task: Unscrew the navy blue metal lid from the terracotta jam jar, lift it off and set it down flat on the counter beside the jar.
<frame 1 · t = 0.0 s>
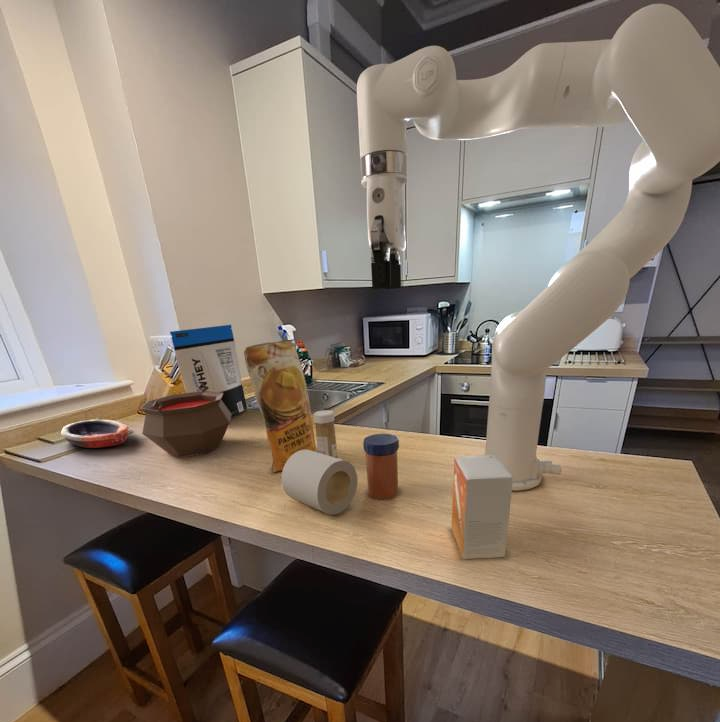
hand: (387, 288, 71), 37 cm above the counter, tool pointing down, fingers open, 9 cm apart
toilet paper: (322, 505, 75), on the counter
dish: (98, 441, 123), on the counter
small box: (476, 544, 61), on the counter
jar: (383, 492, 78), on the counter
sprinkles bottle: (329, 469, 91), on the counter
brown faceted pot: (195, 448, 111), on the counter
pancake mix bag: (293, 461, 97), on the counter
protein powder: (222, 417, 141), on the counter
lid: (380, 440, 74), point 11 cm above the counter, screwed on, not yet turned
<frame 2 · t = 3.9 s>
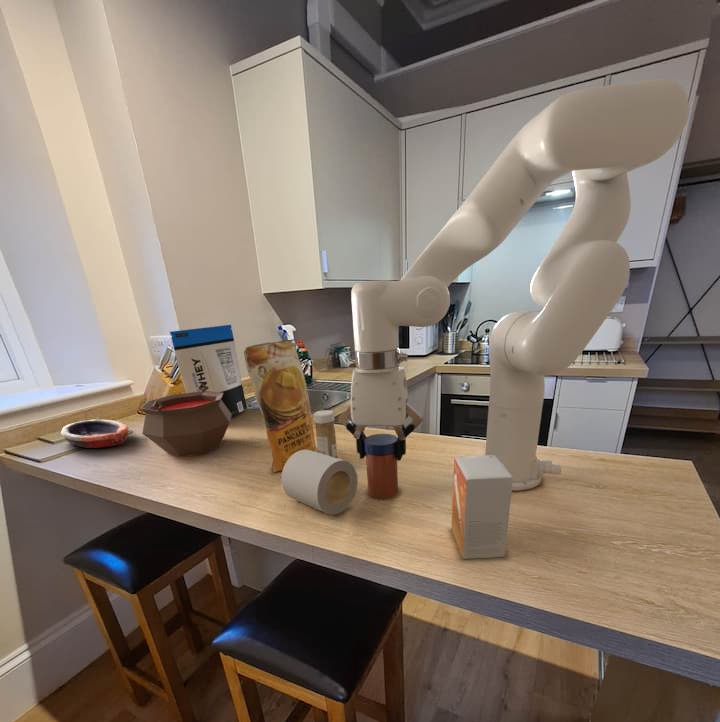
hand: (381, 456, 75), 8 cm above the counter, tool pointing down, fingers closed on lid, 6 cm apart
lid: (380, 440, 74), point 11 cm above the counter, screwed on, not yet turned, touching gripper
everything else where it was.
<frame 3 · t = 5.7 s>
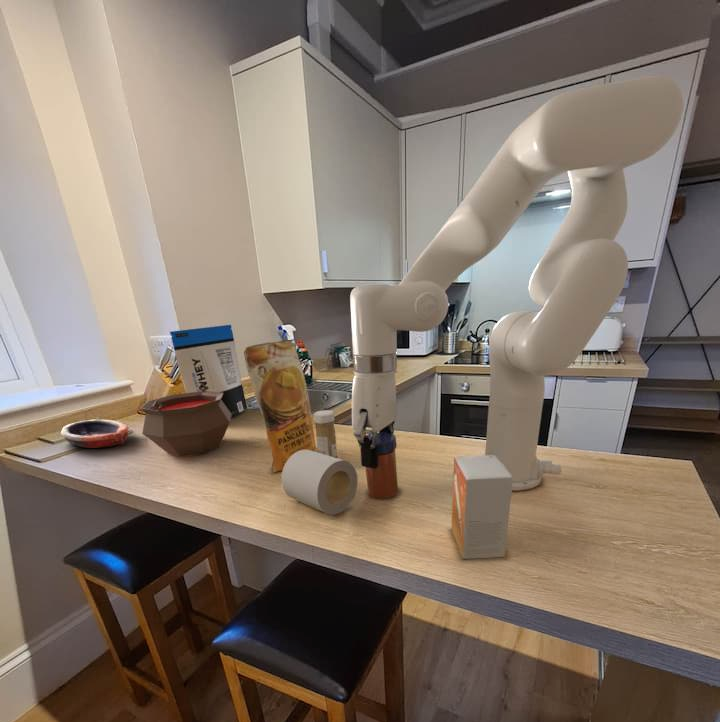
hand: (377, 459, 75), 7 cm above the counter, tool pointing down, fingers closed on lid, 6 cm apart
jar: (383, 491, 78), on the counter, touching gripper
lid: (378, 439, 73), point 11 cm above the counter, turned 78° so far, risen 0.2 cm, still on its thread, touching gripper
everything else where it was.
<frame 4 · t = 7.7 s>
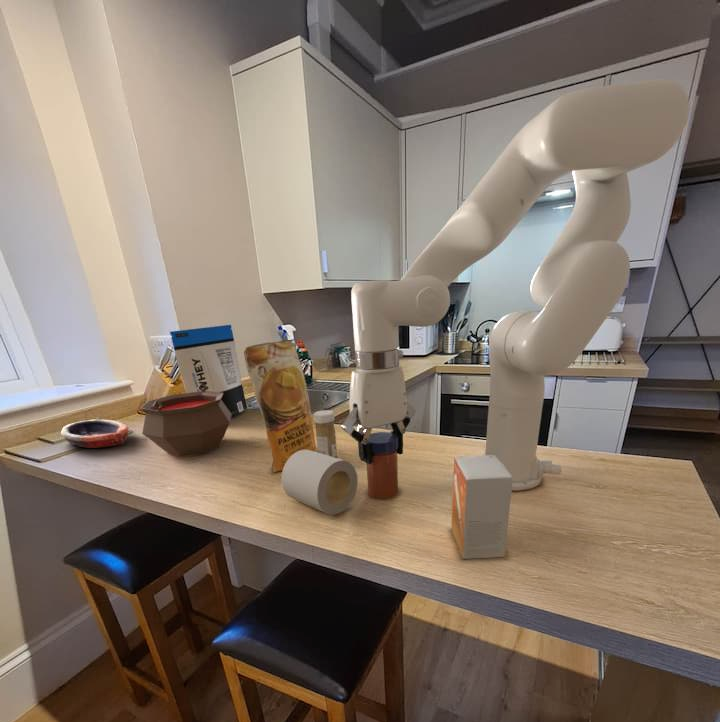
hand: (381, 456, 75), 8 cm above the counter, tool pointing down, fingers closed on lid, 6 cm apart
jar: (383, 492, 78), on the counter
lid: (380, 438, 74), point 11 cm above the counter, turned 125° so far, risen 0.3 cm, still on its thread, touching gripper
everything else where it was.
when the fingers open (1 cm above the counter, at t = 13.8 s): lid drops 3 cm, point 2 cm above the counter.
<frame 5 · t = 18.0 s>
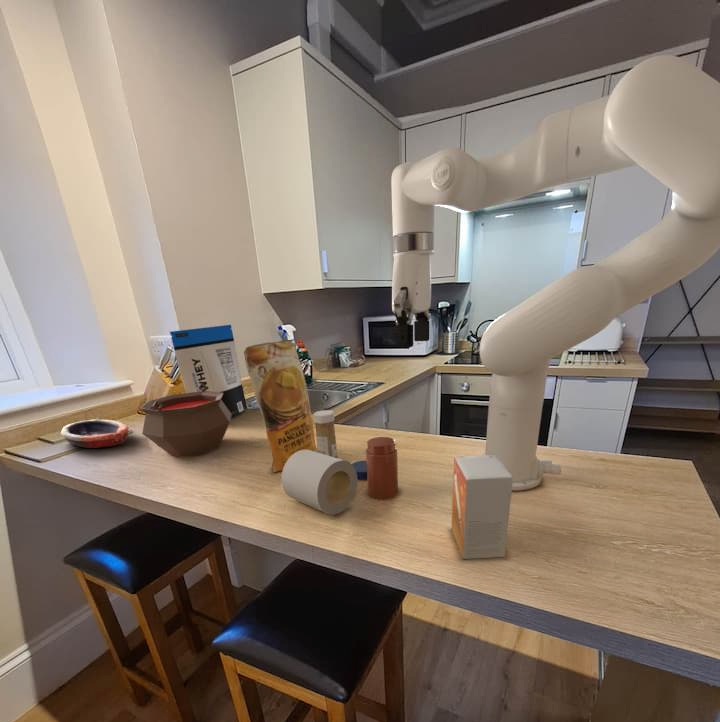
hand: (413, 343, 80), 26 cm above the counter, tool pointing down, fingers open, 9 cm apart
lid: (364, 467, 86), point 2 cm above the counter, off its thread
everything else where it was.
at the end: lid came off its thread; lid point 1.7 cm above the counter; the gripper is holding nothing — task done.
